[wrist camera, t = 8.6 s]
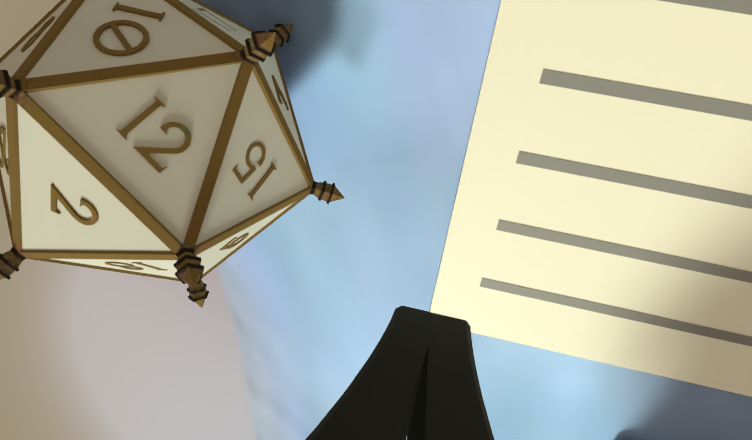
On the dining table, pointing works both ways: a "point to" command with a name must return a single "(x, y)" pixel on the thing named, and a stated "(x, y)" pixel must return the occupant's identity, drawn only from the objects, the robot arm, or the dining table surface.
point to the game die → (146, 139)
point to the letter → (612, 188)
